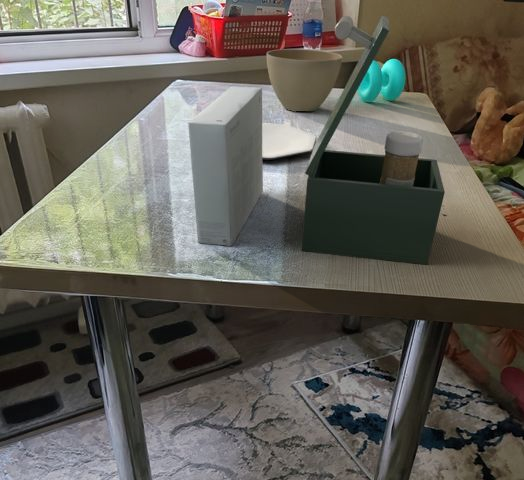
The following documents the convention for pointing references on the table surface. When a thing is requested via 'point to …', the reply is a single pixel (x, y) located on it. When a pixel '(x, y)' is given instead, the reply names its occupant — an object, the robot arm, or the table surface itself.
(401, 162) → the sprinkles bottle
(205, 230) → the skincare box
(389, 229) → the trash bin
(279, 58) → the flower pot
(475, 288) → the table surface
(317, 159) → the bin lid
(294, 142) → the plate
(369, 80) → the turquoise yoyo
